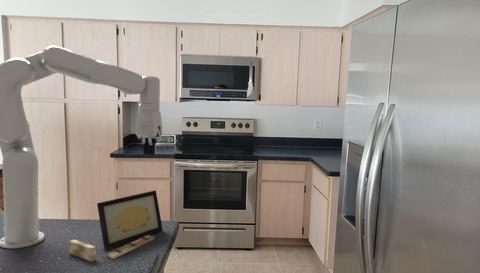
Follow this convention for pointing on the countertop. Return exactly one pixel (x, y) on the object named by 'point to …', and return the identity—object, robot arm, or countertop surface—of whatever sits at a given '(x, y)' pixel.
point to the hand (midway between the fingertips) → (149, 154)
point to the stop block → (82, 250)
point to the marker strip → (129, 247)
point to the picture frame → (129, 218)
